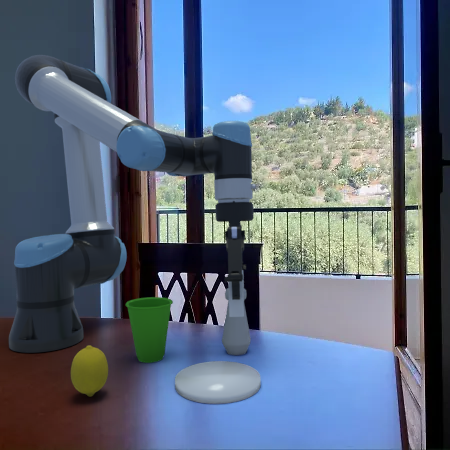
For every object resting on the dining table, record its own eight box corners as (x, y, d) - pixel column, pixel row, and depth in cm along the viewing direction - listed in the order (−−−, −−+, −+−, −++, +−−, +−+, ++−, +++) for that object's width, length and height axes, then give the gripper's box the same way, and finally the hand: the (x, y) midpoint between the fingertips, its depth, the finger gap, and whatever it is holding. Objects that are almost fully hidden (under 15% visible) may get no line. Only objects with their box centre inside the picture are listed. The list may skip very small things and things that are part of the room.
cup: (165, 368, 76) (163, 308, 75) (118, 365, 78) (117, 306, 77) (180, 351, 85) (178, 297, 84) (138, 349, 86) (136, 296, 86)
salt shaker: (216, 352, 84) (214, 288, 83) (235, 345, 88) (234, 283, 87) (238, 359, 80) (237, 291, 79) (256, 351, 84) (255, 287, 83)
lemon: (88, 407, 61) (86, 354, 61) (63, 399, 64) (62, 347, 64) (116, 393, 66) (115, 343, 65) (92, 385, 69) (91, 337, 68)
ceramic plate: (159, 381, 70) (159, 374, 70) (225, 361, 78) (225, 355, 78) (207, 413, 59) (207, 404, 59) (278, 386, 67) (278, 379, 67)
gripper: (254, 199, 70) (258, 324, 71) (251, 202, 95) (254, 294, 95) (210, 200, 70) (214, 325, 71) (219, 203, 95) (222, 295, 96)
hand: (237, 308), depth 83 cm, fingers open, 13 cm apart
